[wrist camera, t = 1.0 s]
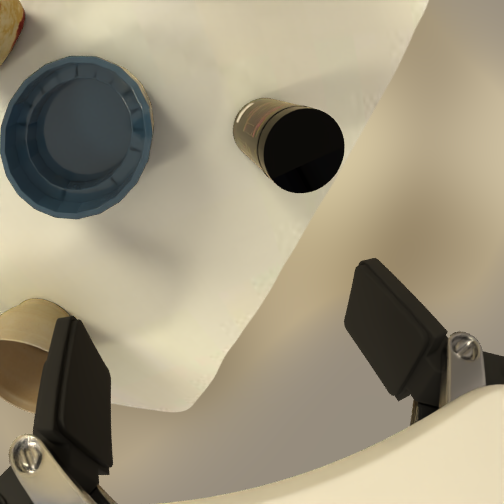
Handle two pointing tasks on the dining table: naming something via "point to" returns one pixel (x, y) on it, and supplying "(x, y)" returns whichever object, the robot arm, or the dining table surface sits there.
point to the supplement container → (290, 143)
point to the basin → (76, 136)
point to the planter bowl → (25, 350)
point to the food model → (10, 25)
